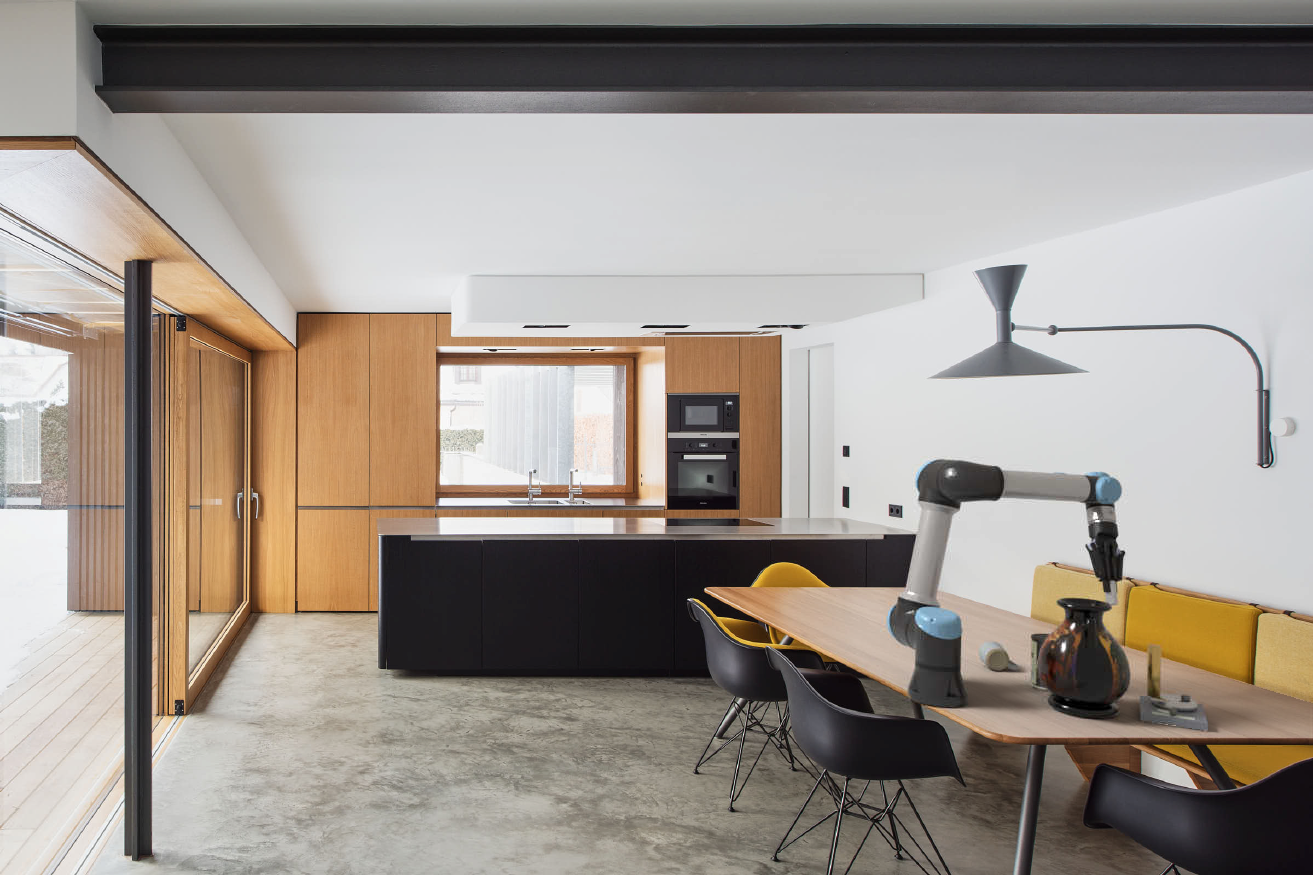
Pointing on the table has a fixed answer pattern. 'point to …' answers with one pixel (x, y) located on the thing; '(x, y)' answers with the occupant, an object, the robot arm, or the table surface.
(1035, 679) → the coffee can
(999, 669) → the ceramic mug
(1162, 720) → the grey crank mechanism
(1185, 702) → the lever
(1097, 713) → the brown glazed vase
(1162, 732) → the table surface
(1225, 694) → the table surface
